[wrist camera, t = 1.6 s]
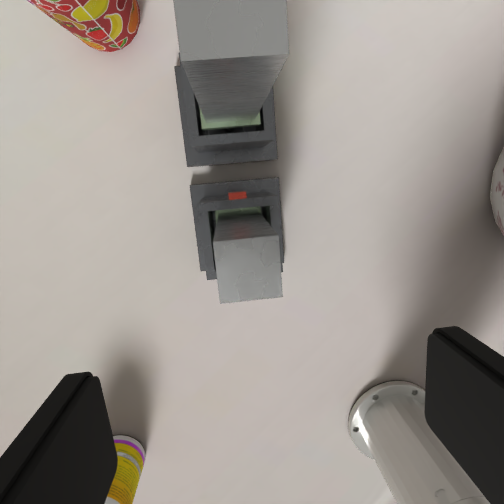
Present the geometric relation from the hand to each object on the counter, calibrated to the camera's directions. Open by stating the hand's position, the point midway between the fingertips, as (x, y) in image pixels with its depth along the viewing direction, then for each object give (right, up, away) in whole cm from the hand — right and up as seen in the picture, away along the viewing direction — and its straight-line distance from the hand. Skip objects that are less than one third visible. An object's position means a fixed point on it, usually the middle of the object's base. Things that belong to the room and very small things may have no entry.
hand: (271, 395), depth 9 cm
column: (-2, +7, +28) cm, 29 cm away
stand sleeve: (-2, +7, +30) cm, 31 cm away
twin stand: (-3, +19, +27) cm, 33 cm away
